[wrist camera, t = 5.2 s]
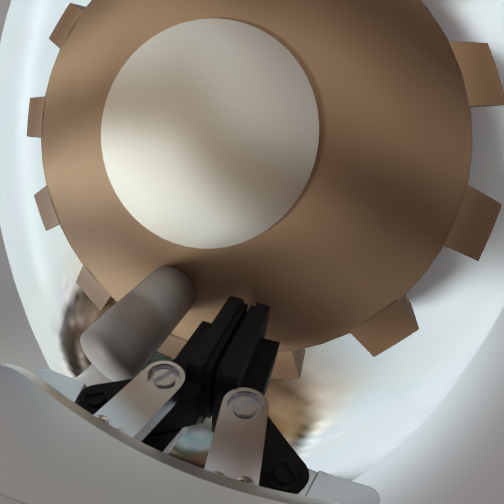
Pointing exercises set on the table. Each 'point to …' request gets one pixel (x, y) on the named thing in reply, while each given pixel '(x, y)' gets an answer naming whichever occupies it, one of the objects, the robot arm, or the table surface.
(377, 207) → the sprocket
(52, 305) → the table surface
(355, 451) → the table surface
